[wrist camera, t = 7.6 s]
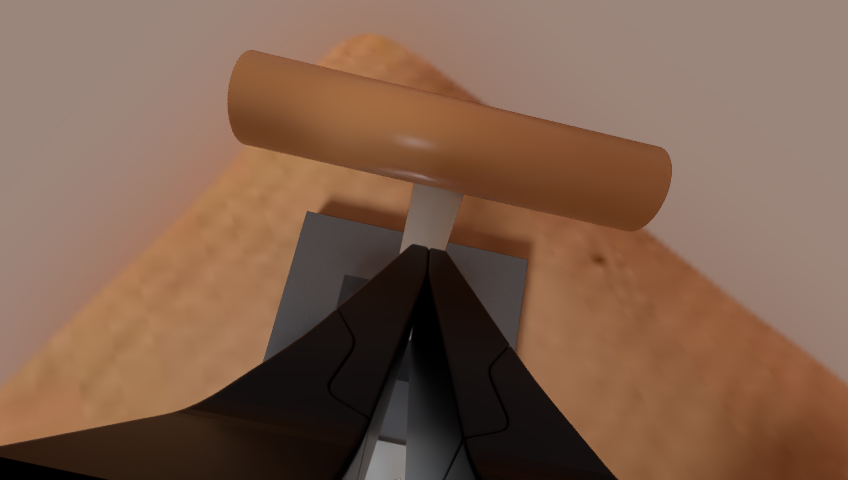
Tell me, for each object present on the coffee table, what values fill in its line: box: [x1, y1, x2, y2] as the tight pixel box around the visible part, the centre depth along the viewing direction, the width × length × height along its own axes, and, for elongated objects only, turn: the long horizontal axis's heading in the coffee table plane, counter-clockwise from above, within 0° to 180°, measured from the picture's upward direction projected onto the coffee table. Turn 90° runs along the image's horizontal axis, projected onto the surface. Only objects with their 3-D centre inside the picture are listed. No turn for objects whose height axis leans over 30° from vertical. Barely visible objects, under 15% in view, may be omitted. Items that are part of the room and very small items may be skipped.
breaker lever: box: [228, 50, 672, 340], centre depth 12 cm, size 2×10×10 cm
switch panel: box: [263, 211, 528, 480], centre depth 17 cm, size 16×12×6 cm
